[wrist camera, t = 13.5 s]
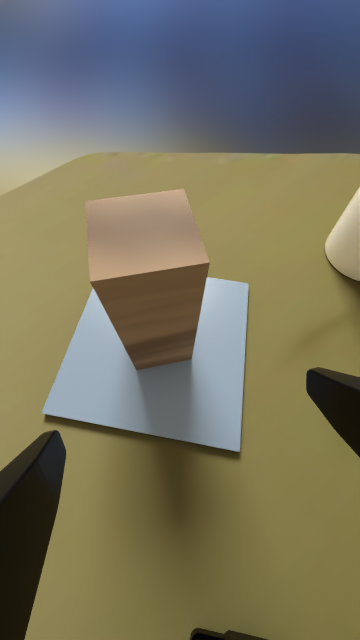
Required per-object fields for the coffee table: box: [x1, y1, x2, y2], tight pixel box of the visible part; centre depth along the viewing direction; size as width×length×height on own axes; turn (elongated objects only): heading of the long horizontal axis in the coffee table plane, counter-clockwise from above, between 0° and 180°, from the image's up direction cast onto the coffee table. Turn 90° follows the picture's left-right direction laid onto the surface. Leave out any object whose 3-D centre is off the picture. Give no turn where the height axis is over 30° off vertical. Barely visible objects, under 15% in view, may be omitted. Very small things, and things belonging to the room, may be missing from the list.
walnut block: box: [85, 189, 210, 371], centre depth 17 cm, size 5×5×13 cm
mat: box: [42, 277, 249, 452], centre depth 23 cm, size 16×16×1 cm
